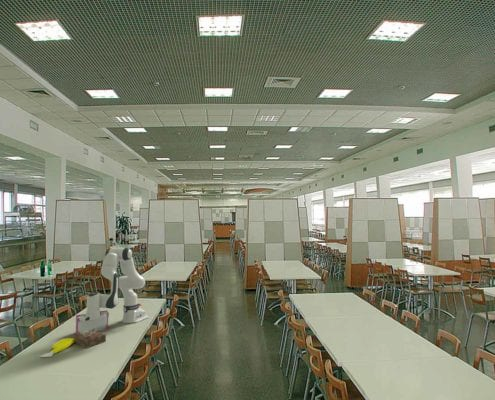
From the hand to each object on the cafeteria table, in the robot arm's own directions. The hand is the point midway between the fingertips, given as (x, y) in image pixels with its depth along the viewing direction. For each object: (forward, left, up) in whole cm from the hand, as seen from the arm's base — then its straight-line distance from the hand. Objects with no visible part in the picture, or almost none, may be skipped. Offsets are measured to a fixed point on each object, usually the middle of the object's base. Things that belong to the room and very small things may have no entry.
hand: (92, 334), depth 221 cm
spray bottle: (+19, -10, -6) cm, 22 cm away
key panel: (0, -5, -6) cm, 8 cm away
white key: (0, -10, -3) cm, 11 cm away
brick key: (0, 0, -4) cm, 4 cm away
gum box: (-13, -25, -6) cm, 29 cm away
